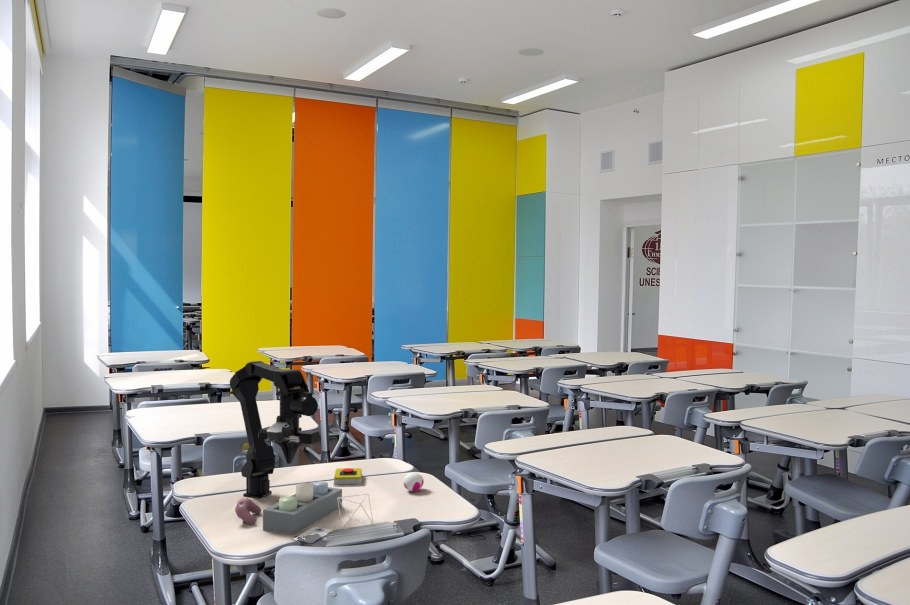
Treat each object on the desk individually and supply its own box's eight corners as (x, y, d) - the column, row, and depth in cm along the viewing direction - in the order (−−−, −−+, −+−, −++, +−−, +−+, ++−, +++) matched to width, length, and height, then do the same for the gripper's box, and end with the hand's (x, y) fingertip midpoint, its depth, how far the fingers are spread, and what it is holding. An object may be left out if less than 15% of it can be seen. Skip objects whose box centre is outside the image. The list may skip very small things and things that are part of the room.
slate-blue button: (308, 502, 204) (308, 484, 204) (317, 498, 209) (317, 480, 208) (322, 504, 202) (322, 486, 202) (330, 500, 207) (330, 482, 207)
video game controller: (248, 518, 202) (237, 497, 201) (263, 511, 202) (252, 490, 201) (241, 530, 192) (229, 508, 191) (256, 523, 192) (245, 501, 192)
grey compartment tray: (262, 529, 188) (262, 509, 188) (313, 503, 212) (313, 485, 211) (294, 534, 185) (294, 514, 184) (341, 507, 208) (342, 489, 208)
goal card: (292, 540, 181) (292, 538, 181) (313, 528, 190) (313, 525, 190) (312, 543, 178) (312, 541, 178) (332, 531, 188) (332, 528, 188)
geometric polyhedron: (334, 520, 196) (334, 494, 196) (365, 516, 200) (365, 490, 200) (344, 533, 187) (344, 505, 186) (376, 528, 190) (376, 501, 190)
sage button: (275, 519, 189) (275, 500, 189) (285, 514, 194) (285, 495, 194) (290, 522, 187) (290, 502, 187) (300, 516, 192) (300, 497, 192)
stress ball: (411, 504, 222) (420, 489, 219) (395, 486, 225) (403, 472, 223) (425, 497, 228) (434, 483, 226) (409, 480, 231) (418, 466, 229)
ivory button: (292, 504, 197) (292, 486, 196) (302, 499, 201) (302, 481, 201) (306, 506, 195) (307, 488, 195) (316, 501, 199) (316, 483, 199)
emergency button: (333, 475, 229) (335, 463, 244) (332, 488, 229) (335, 475, 244) (361, 474, 230) (362, 462, 245) (361, 487, 230) (362, 475, 245)
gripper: (246, 414, 203) (246, 466, 204) (300, 419, 197) (300, 473, 197) (269, 407, 214) (269, 458, 214) (321, 412, 207) (321, 464, 207)
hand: (289, 463), depth 208 cm, fingers closed
